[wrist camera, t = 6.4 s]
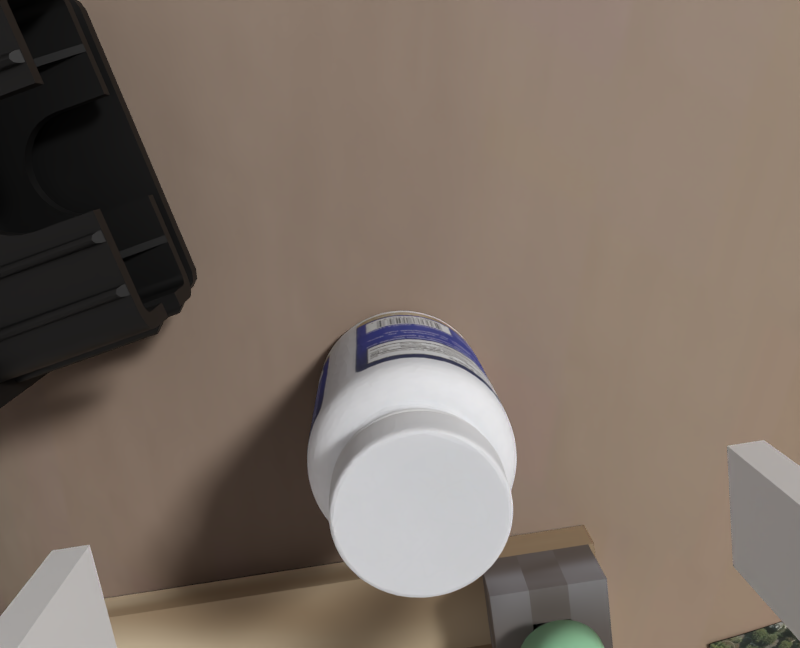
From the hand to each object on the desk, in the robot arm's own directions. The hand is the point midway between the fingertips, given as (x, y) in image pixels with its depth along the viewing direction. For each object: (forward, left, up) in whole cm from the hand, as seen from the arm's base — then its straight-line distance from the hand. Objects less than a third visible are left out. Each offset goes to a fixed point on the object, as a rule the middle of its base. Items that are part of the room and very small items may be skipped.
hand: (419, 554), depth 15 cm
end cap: (-8, -10, -10) cm, 16 cm away
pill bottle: (0, 0, -10) cm, 10 cm away
